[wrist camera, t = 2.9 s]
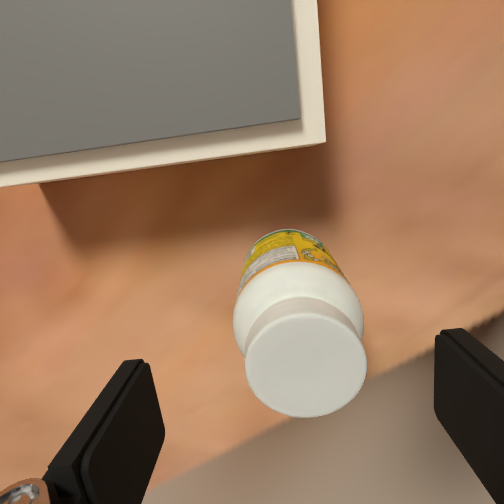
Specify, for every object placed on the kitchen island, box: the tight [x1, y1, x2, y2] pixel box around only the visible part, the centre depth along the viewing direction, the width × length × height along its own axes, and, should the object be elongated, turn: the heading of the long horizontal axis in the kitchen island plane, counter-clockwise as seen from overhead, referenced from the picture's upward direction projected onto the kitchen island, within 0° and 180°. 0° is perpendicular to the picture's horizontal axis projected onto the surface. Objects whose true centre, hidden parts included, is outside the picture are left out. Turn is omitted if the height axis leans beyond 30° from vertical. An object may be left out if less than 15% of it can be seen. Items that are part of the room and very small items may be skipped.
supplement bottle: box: [233, 229, 367, 418], centre depth 15 cm, size 5×5×10 cm
